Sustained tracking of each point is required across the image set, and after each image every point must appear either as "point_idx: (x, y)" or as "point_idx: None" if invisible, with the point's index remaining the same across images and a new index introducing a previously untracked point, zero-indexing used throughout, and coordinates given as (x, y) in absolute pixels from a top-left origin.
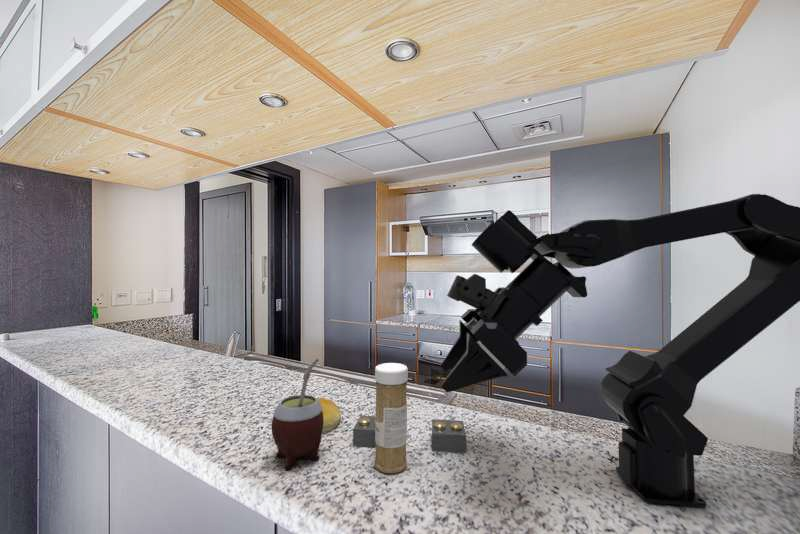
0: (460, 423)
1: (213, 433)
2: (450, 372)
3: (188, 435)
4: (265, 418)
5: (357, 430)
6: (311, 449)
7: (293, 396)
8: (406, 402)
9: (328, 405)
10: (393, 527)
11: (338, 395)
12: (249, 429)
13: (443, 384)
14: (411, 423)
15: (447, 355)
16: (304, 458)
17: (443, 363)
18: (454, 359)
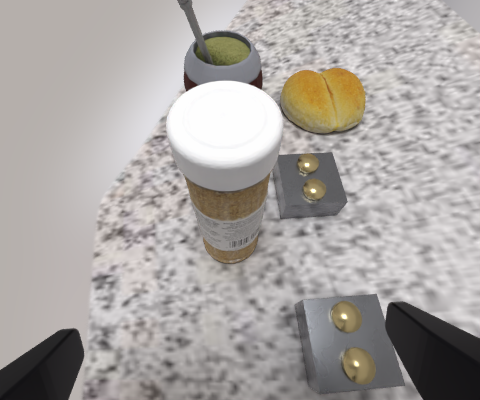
0: (372, 377)
1: (258, 32)
2: (4, 387)
3: (248, 18)
4: (312, 54)
5: (277, 162)
6: None
7: (242, 36)
8: (231, 219)
9: (341, 97)
10: (92, 269)
11: (439, 100)
12: (278, 53)
13: (49, 338)
14: (392, 248)
15: (453, 343)
16: None
17: (403, 317)
18: (454, 397)
